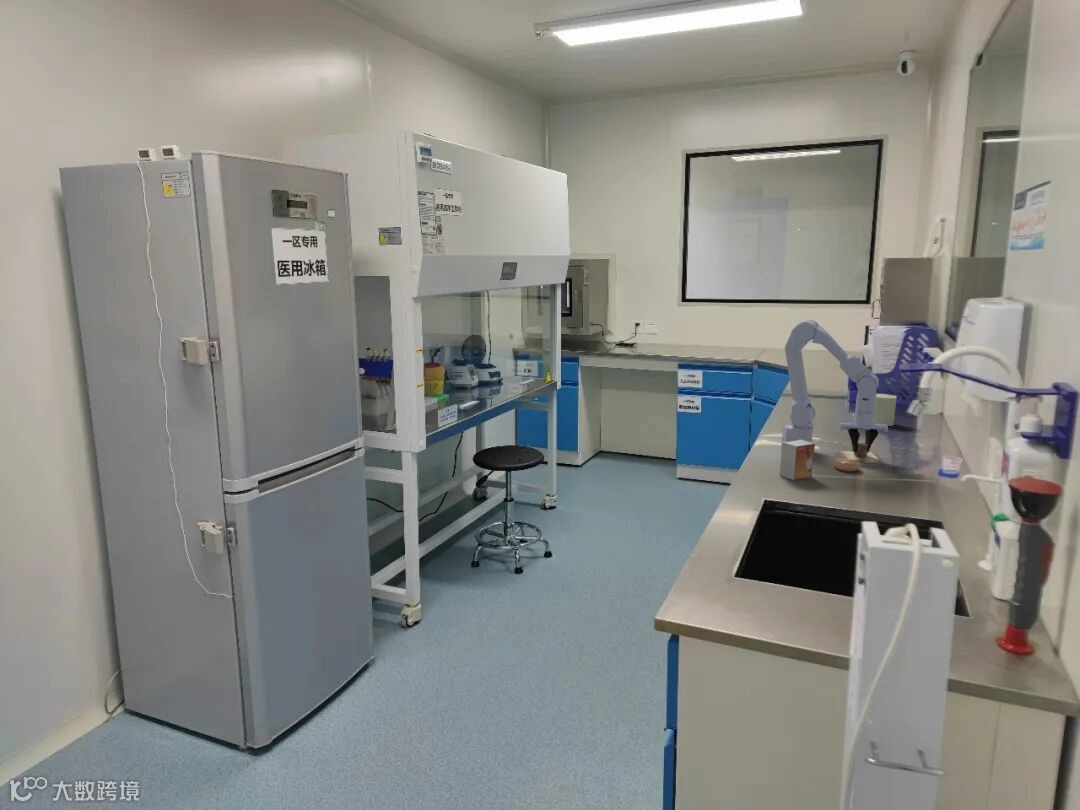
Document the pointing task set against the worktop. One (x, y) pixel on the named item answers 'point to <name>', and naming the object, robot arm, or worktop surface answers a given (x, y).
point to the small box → (797, 459)
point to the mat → (861, 462)
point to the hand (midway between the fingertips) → (860, 451)
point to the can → (885, 409)
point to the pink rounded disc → (847, 464)
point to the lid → (861, 455)
